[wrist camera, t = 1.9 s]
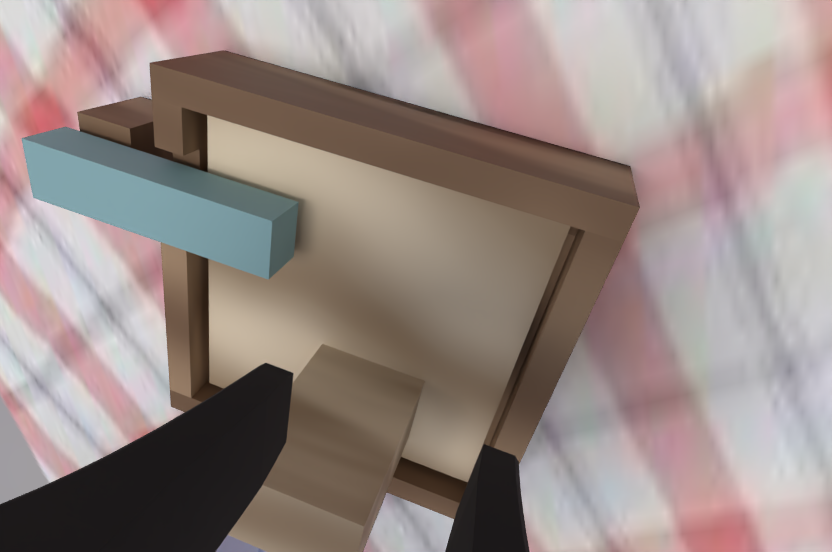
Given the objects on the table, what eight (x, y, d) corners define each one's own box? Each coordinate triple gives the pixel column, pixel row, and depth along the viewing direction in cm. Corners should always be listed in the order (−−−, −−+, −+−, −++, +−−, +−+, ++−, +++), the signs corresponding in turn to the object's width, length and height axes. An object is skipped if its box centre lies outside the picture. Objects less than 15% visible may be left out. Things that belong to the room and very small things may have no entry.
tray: (500, 461, 23) (486, 532, 20) (157, 332, 26) (100, 378, 23) (629, 166, 16) (639, 207, 13) (135, 25, 18) (46, 32, 15)
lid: (470, 470, 21) (427, 644, 15) (217, 374, 23) (96, 500, 17) (571, 217, 15) (561, 352, 9) (219, 110, 17) (32, 172, 11)
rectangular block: (293, 256, 17) (268, 279, 16) (74, 182, 18) (33, 197, 17) (298, 202, 16) (272, 221, 15) (65, 126, 17) (21, 138, 16)
